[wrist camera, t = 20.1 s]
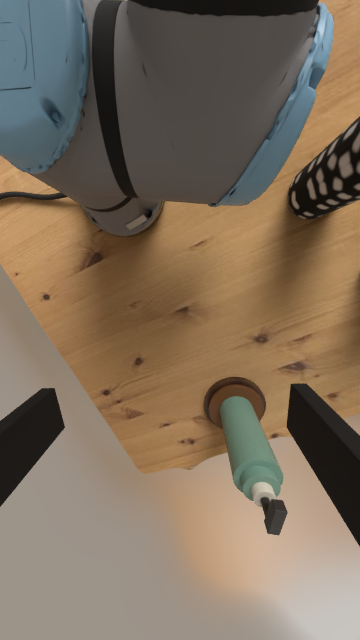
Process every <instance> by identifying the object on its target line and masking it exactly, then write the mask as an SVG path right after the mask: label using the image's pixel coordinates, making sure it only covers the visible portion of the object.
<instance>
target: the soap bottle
mask: <svg viewBox="0 0 360 640" xmlns="http://www.w3.org/2000/svg"><path fill="white" fill-rule="evenodd" d="M263 413H264V404H263V401H262V399H261V397H260V396H259V394H258V393H257V392H256V391H255V390H253V389H252V388H250V387H248V386H245V385H239V384H233V385H228V386H225V387H222V388H221V389H219V390H218V391H216V392H215V393H214V394H213V396H212V397H211V399H210V401H209V415H210V418H211V419H212V421H213V422H214V423H215V424H216V425H217V426H218V427H219V428H221V429H223V430H224V435H225V440H226V445H227V450H228V455H229V460H230V465H231V470H232V475H233V480H234V484H235V485H236V487H237V488H238V489H239V490H240V491H241V492H243V493H244V495H245V496H246V497H247V498H248V499H250V500H252V501H254V503H255V504H256V505H258V506H260V507H262V508H263V511H264V514H265V520H264V522H265V526H266V529H267V533H268V534H274V535H279V534H280V532H281V529H282V526H283V523H284V521H285V518H286V515H287V510H286V507H285V505H284V502H283V501H282V500H276V497H277V496H278V495H279V493H280V486H281V484H282V482H283V474H282V471H281V469H280V466H279V464H278V462H277V460H276V457H275V455H274V453H273V451H272V449H271V446H270V444H269V442H268V440H267V437H266V435H265V433H264V431H263V429H262V426H261V424H260V422H259V421H260V420H261V418H262V416H263Z"/></svg>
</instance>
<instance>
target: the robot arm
mask: <svg viewBox="0 0 360 640" xmlns="http://www.w3.org/2000/svg"><path fill="white" fill-rule="evenodd" d="M318 1H319V0H128V1H125V0H0V155H1V156H2V157H4V158H5V159H6V160H8V161H9V162H10V163H11V164H12V165H14V166H15V167H16V168H18V169H19V170H21V171H23V172H27V173H29V174H30V175H32V176H34V177H36V178H37V179H39V180H41V181H42V182H44V183H46V184H47V185H49V186H51V187H52V188H54V189H56V190H58V191H59V192H60V193H56V194H50V195H40V194H32V193H25V192H5V193H1V194H0V200H1V199H4V198H9V197H25V198H32V199H40V200H54V199H60V198H64V197H69V198H71V199H73V200H74V201H76V202H78V203H79V204H80V206H81V207H82V209H83V210H84V212H85V213H86V215H87V216H88V217H89V219H90V220H91V221H92V222H93V223H94V224H95V225H96V226H98V227H99V228H101V229H102V230H104V231H106V232H108V233H110V234H113V235H116V236H121V237H131V236H135V235H138V234H141V233H143V232H144V231H146V230H147V229H149V228H150V227H151V226H152V225H153V224H154V223H155V221H156V220H157V218H158V217H159V215H160V213H161V211H162V208H163V204H164V201H174V202H187V203H199V204H208V205H209V206H210V207H217V206H220V205H231V206H242V205H247V204H249V203H250V202H252V201H253V200H255V199H257V198H258V197H260V196H261V195H262V194H263V193H264V192H265V191H266V189H267V188H268V187H269V186H270V184H271V183H272V182H273V180H274V179H275V178H276V176H277V175H278V173H279V172H280V170H281V168H282V167H283V165H284V164H285V162H286V160H287V158H288V156H289V155H290V153H291V151H292V149H293V147H294V145H295V143H296V141H297V140H298V138H299V135H300V133H301V131H302V129H303V127H304V125H305V123H306V120H307V118H308V116H309V114H310V111H311V109H312V106H313V104H314V101H315V98H316V92H315V89H316V87H317V85H318V83H319V81H320V80H321V78H322V76H323V74H324V72H325V70H326V66H327V63H328V59H329V56H330V52H331V48H332V42H333V32H334V21H333V17H332V15H331V13H329V12H328V11H327V7H326V5H325V4H324V3H318ZM64 428H65V426H64V423H63V419H62V415H61V411H60V407H59V404H58V400H57V396H56V392H55V389H54V388H42V389H41V390H39V391H38V392H37V393H36V394H34V395H33V396H32V397H30V398H29V399H28V400H27V401H25V402H24V403H23V404H22V405H20V406H19V407H18V408H16V409H15V410H14V411H13V412H11V413H10V414H9V415H7V416H6V417H5V418H4V419H2V420H1V421H0V506H1V505H2V504H3V503H4V501H5V500H6V499H7V498H8V497H9V495H10V494H11V493H12V492H13V490H14V489H15V488H16V487H17V486H18V484H19V483H20V482H21V481H22V479H23V478H24V477H25V476H26V475H27V473H28V472H29V471H30V470H31V468H32V467H33V466H34V465H35V464H36V462H37V461H38V460H39V459H40V457H41V456H42V455H43V454H44V452H45V451H46V450H47V449H48V447H49V446H50V445H51V444H52V443H53V441H54V440H55V439H56V438H57V436H58V435H59V434H60V433H61V431H62V430H63V429H64ZM287 428H288V430H289V432H290V433H291V435H292V437H293V438H294V440H295V441H296V443H297V445H298V446H299V448H300V450H301V451H302V453H303V455H304V456H305V458H306V459H307V461H308V463H309V464H310V466H311V468H312V469H313V471H314V472H315V474H316V476H317V477H318V479H319V481H320V482H321V484H322V485H323V487H324V489H325V491H326V492H327V494H328V495H329V497H330V499H331V500H332V502H333V504H334V505H335V507H336V508H337V510H338V512H339V513H340V515H341V517H342V518H343V520H344V522H345V523H346V525H347V526H348V528H349V530H350V531H351V533H352V535H353V536H354V538H355V540H356V541H357V543H358V544H359V546H360V436H359V435H358V434H357V433H356V432H355V431H354V430H353V429H352V428H351V427H350V426H349V425H348V424H347V423H346V422H345V421H344V420H343V419H342V418H341V417H340V416H339V415H338V414H337V413H336V412H335V411H334V410H333V409H332V408H331V407H330V406H329V405H328V404H327V403H326V402H325V401H324V400H323V399H322V398H321V397H320V396H318V395H317V394H316V393H315V392H314V391H313V390H312V389H311V388H310V387H309V386H308V385H307V384H291V388H290V398H289V409H288V419H287Z"/></svg>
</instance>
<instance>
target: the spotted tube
mask: <svg viewBox="0 0 360 640" xmlns="http://www.w3.org/2000/svg"><path fill="white" fill-rule="evenodd" d="M288 200H289V205H290V207H291V209H292V211H293V212H294V213H295V214H296V215H297V216H299V217H300V218H303V219H315V218H318V217H321V216H323V215H325V214H328V213H330V212H332V211H335V210H337V209H339V208H342V207H344V206H346V205H349V204H351V203H353V202H356V201H358V200H360V117H359V118H358V119H356V120H355V121H354V122H353V123H352V124H351V125H350V126H349V127H348V128H347V129H346V130H345V131H343V132H342V133H341V134H340V135H339V136H338V137H337V138H336V139H335V140H334V141H333V142H332V143H331V144H329V145H328V146H327V147H326V148H325V149H324V150H323V151H322V152H321V153H320V154H319V155H318V156H316V157H315V158H314V159H313V160H312V161H311V162H310V163H309V164H308V165H307V166H306V167H305V168H304V169H302V170H301V171H300V172H299V173H298V174H297V175H296V177H295V178H294V180H293V181H292V183H291V186H290V189H289V194H288Z"/></svg>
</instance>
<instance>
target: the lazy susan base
mask: <svg viewBox="0 0 360 640" xmlns="http://www.w3.org/2000/svg"><path fill="white" fill-rule="evenodd" d="M233 384H239V385H245V386H248V387H250V388H252V389H253V390H255V391H256V392H257V393H258V394H259V396H260V397H261V399H262V401H263V404H264V412H265V408H266V402H265V398H264V395H263V393H262V392H261V390H260V389H259V387H258V386H257V385H256V384H254V383H253V382H251V381H250V380H247V379H244V378H239V377H230V378H226V379H222V380H220V381H218V382H217V383H215V384H214V385H213V386H212V387H211V388H210V389H209V390H208V392H207V394H206V396H205V411H206V414H207V416H208V418H209V419H210V421H211V422H212V423H213V424H215V423H214V422H213V421H212V419H211V418H210V415H209V401H210V399H211V397H212V396H213V394H214V393H215V392H216V391H218V390H219V389H221V388H222V387H225V386H228V385H233ZM263 415H264V413H263ZM215 425H216V424H215ZM216 426H217V425H216Z"/></svg>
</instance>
